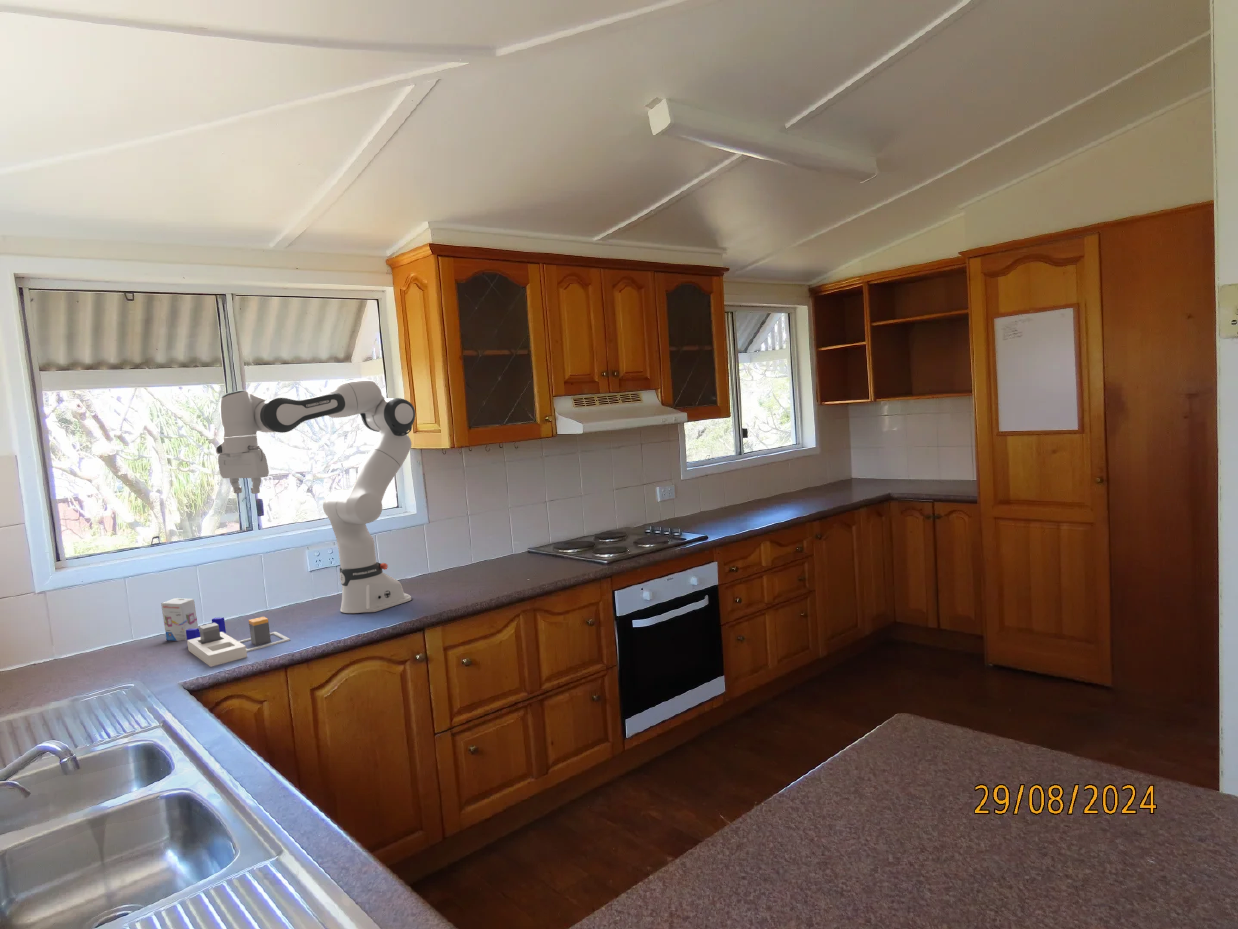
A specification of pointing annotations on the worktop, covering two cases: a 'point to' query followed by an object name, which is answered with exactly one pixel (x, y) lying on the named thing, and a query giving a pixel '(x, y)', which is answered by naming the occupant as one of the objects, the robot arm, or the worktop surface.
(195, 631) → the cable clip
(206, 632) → the twin plug
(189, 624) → the ink box
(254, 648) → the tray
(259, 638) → the plug
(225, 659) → the white slotted block
